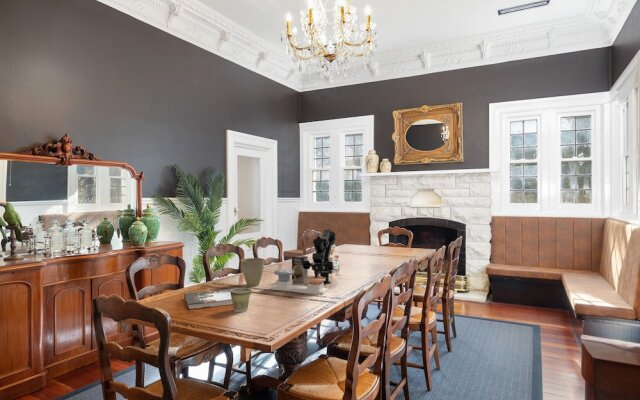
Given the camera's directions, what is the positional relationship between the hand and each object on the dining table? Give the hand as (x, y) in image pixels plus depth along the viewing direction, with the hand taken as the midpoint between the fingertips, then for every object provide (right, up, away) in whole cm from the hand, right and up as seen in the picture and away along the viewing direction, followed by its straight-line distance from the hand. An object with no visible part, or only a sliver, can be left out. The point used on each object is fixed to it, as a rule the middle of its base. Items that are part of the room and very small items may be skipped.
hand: (315, 277), depth 239 cm
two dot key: (-19, -4, +7) cm, 21 cm away
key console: (-10, -8, +3) cm, 13 cm away
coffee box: (-11, -8, +29) cm, 32 cm away
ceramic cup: (-36, -9, -37) cm, 52 cm away
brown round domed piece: (0, -6, -1) cm, 6 cm away
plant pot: (-40, -9, +18) cm, 45 cm away
